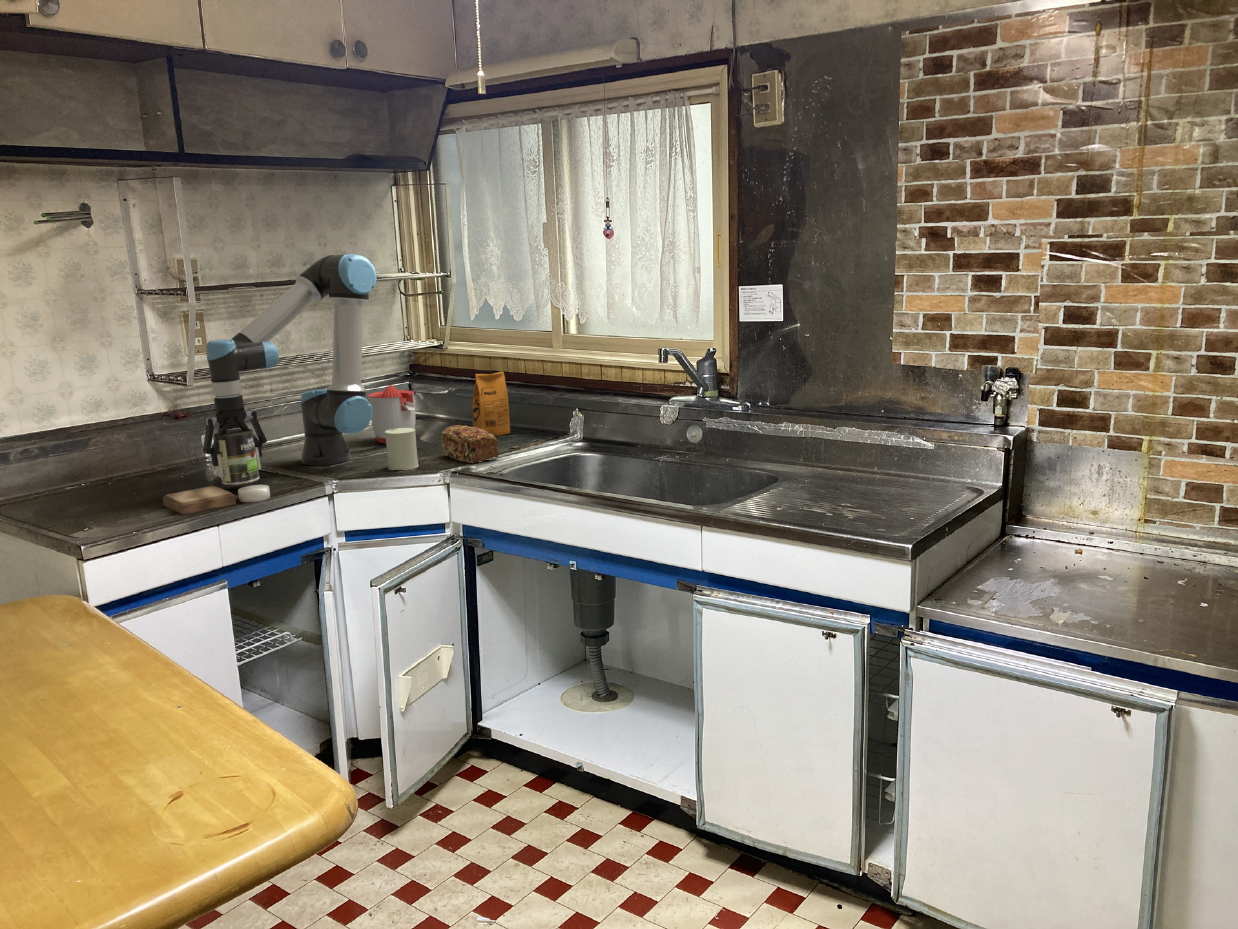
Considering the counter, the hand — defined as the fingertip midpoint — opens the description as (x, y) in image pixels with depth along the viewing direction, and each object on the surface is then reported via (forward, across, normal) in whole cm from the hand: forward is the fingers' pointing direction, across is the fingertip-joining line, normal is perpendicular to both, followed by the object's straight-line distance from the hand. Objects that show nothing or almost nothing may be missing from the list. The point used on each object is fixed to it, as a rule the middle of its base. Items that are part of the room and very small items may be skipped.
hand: (239, 472), depth 276 cm
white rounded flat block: (+5, +2, +13) cm, 14 cm away
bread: (+7, -66, +17) cm, 69 cm away
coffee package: (+8, -94, -10) cm, 95 cm away
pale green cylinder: (+6, -45, +12) cm, 47 cm away
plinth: (+5, +15, +8) cm, 17 cm away
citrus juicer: (+7, -65, -26) cm, 70 cm away
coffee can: (+3, 0, 0) cm, 3 cm away
